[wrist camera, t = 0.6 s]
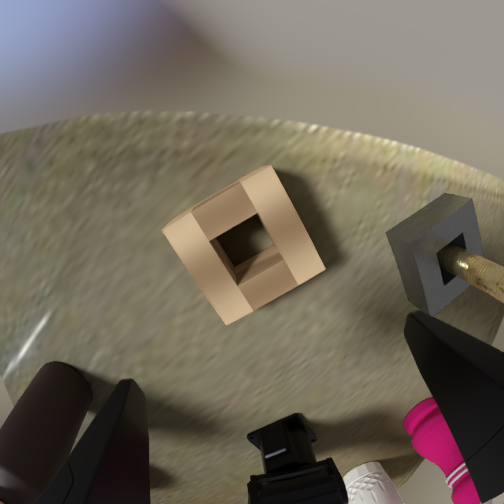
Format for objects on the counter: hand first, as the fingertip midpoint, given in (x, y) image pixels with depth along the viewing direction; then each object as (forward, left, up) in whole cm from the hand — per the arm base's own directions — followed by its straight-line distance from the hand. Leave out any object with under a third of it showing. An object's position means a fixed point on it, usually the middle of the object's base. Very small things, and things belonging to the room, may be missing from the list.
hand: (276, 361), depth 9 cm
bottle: (-4, +25, -16) cm, 30 cm away
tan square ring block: (0, 0, -16) cm, 16 cm away
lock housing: (-10, -15, -16) cm, 24 cm away
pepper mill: (-35, -9, -16) cm, 39 cm away
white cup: (-43, +3, -16) cm, 46 cm away
